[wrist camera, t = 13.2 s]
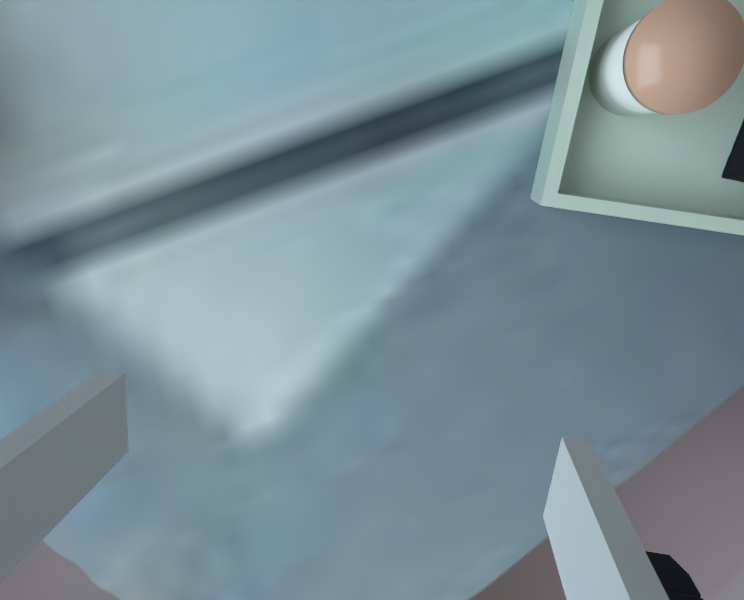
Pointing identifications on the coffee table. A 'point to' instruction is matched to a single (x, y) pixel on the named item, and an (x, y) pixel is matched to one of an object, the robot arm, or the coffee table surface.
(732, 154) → the sculpture
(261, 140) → the coffee table surface
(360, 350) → the coffee table surface
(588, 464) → the robot arm
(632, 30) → the jar
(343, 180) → the coffee table surface
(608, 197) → the tote
